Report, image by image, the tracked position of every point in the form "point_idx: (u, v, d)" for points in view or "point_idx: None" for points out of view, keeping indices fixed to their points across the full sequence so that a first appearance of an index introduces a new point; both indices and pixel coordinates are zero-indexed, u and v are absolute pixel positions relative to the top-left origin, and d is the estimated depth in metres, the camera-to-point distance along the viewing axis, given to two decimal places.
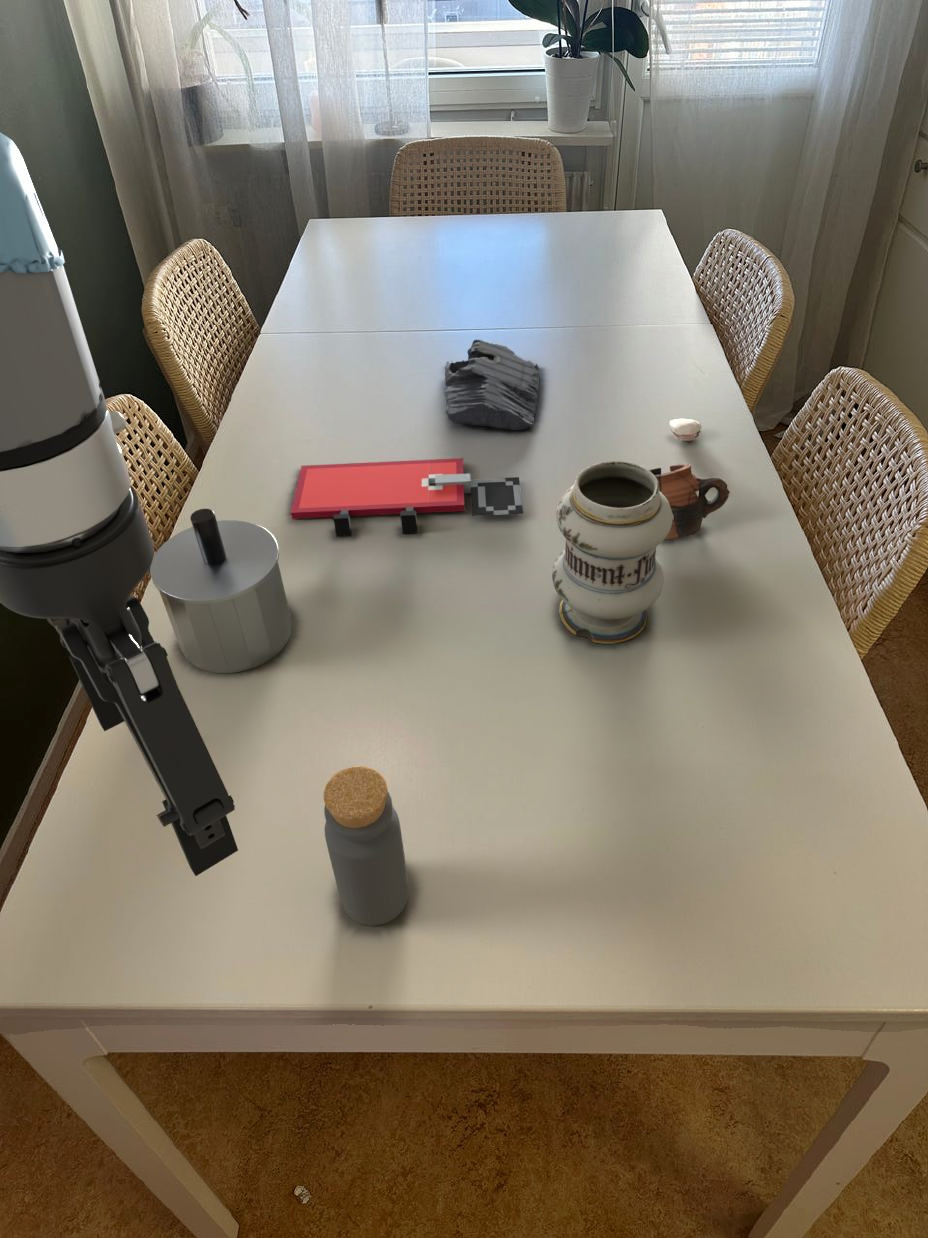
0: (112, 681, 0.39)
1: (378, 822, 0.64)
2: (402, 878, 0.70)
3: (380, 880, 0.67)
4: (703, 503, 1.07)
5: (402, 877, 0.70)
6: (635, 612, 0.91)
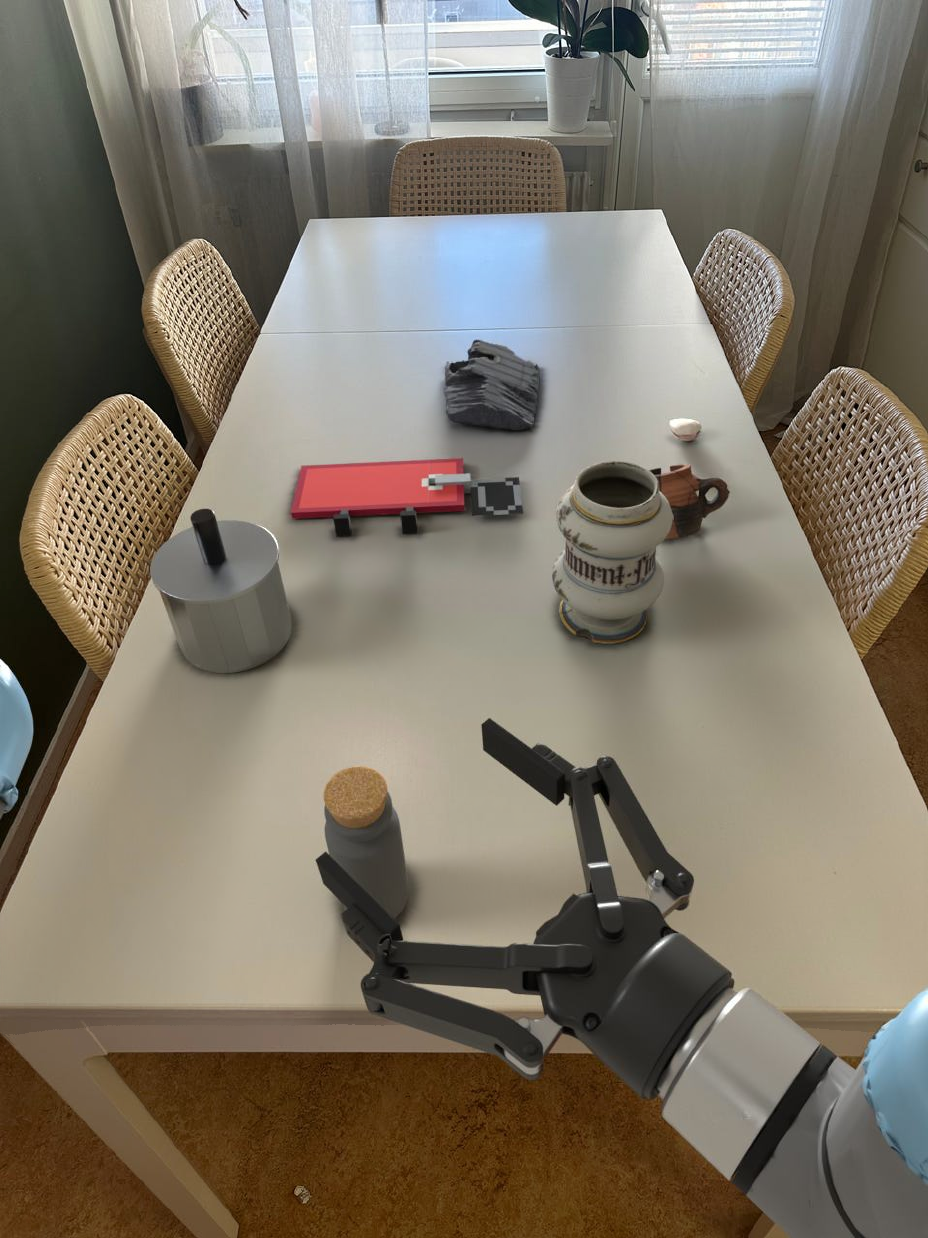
0: (526, 1050, 0.42)
1: (378, 822, 0.64)
2: (402, 878, 0.70)
3: (380, 880, 0.67)
4: (703, 503, 1.07)
5: (402, 877, 0.70)
6: (635, 612, 0.91)
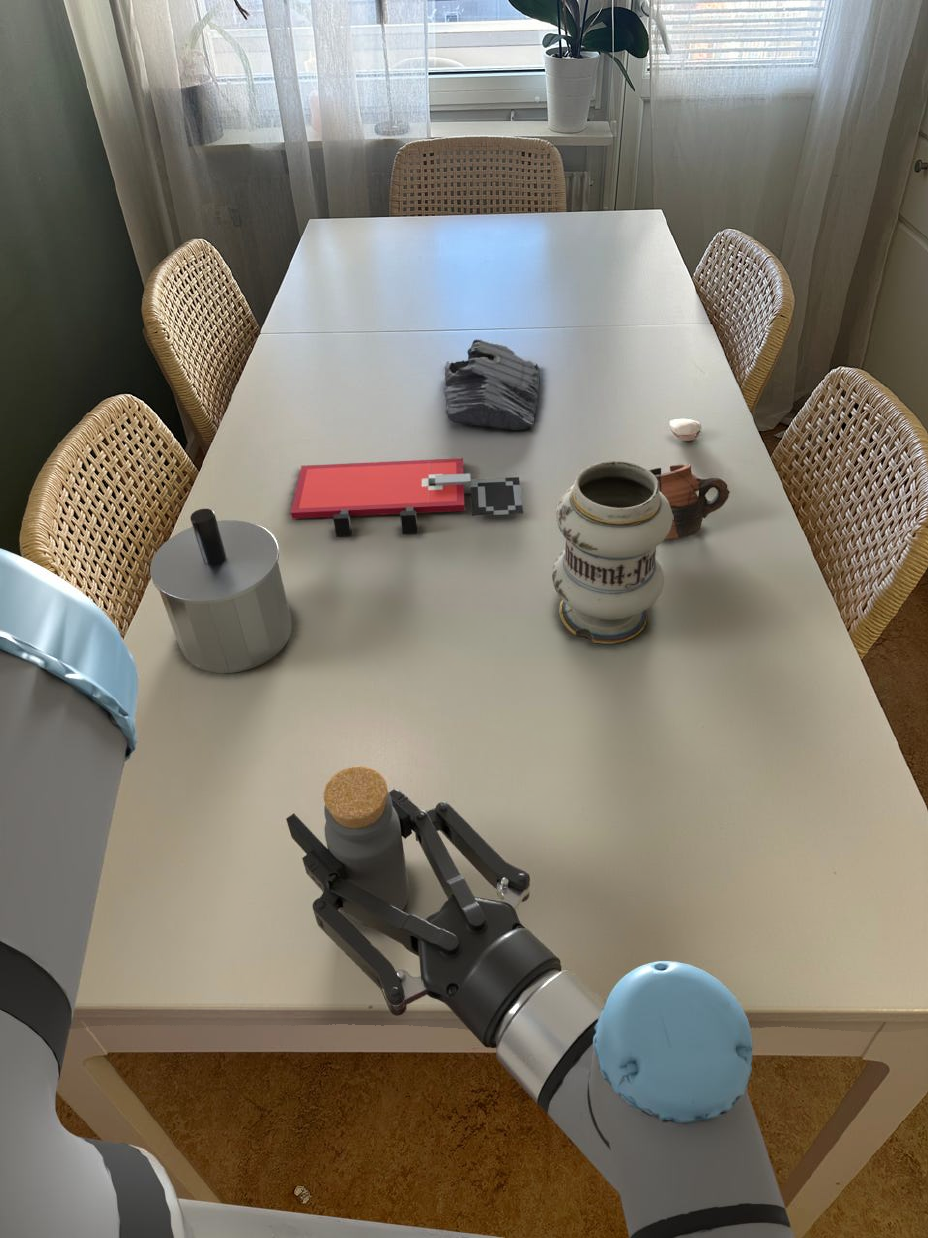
0: (391, 991, 0.58)
1: (378, 822, 0.64)
2: (402, 878, 0.70)
3: (380, 880, 0.67)
4: (703, 503, 1.07)
5: (402, 877, 0.70)
6: (635, 612, 0.91)
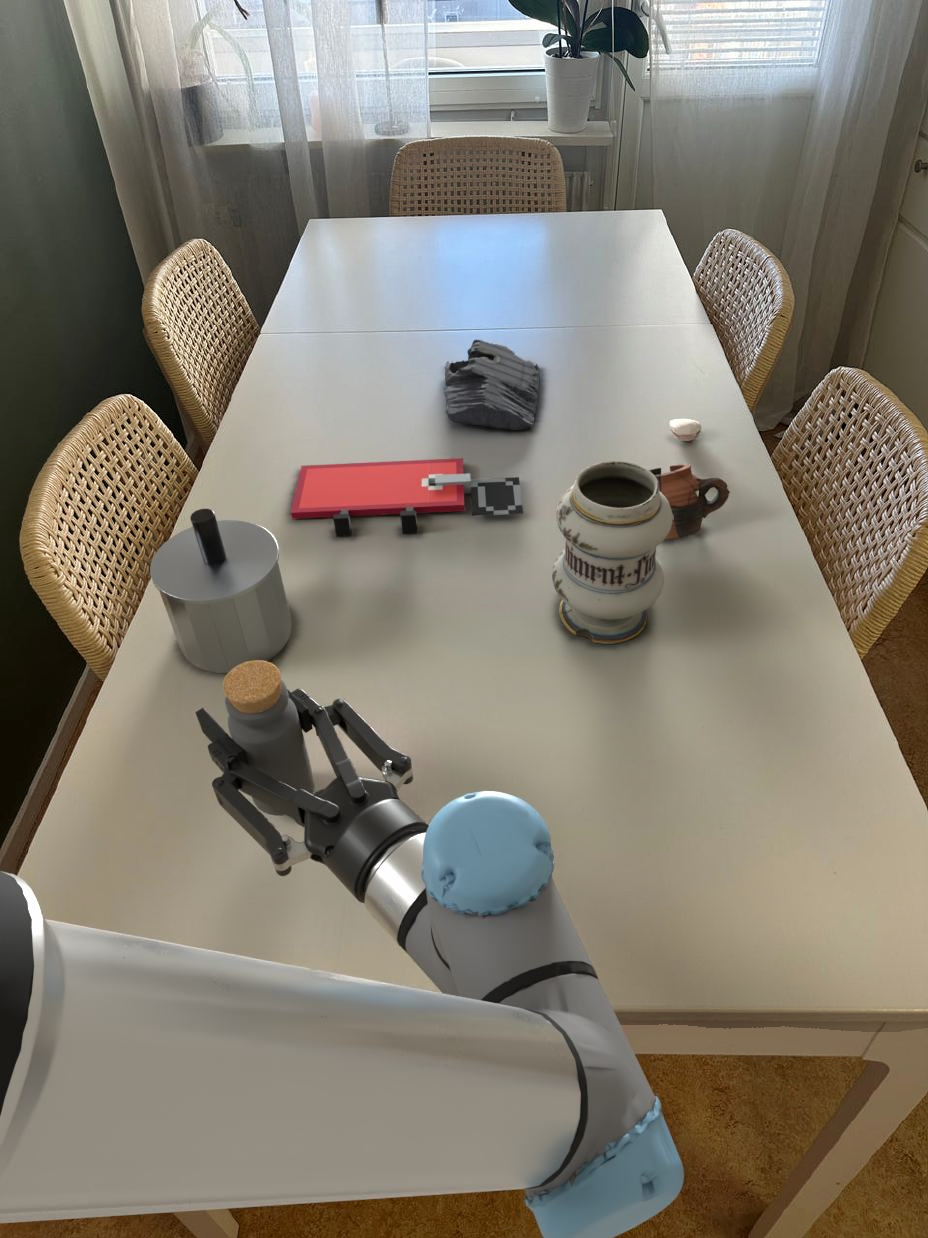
0: (275, 851, 0.65)
1: (272, 708, 0.70)
2: (303, 769, 0.77)
3: (279, 767, 0.74)
4: (703, 503, 1.07)
5: (303, 768, 0.76)
6: (635, 612, 0.91)
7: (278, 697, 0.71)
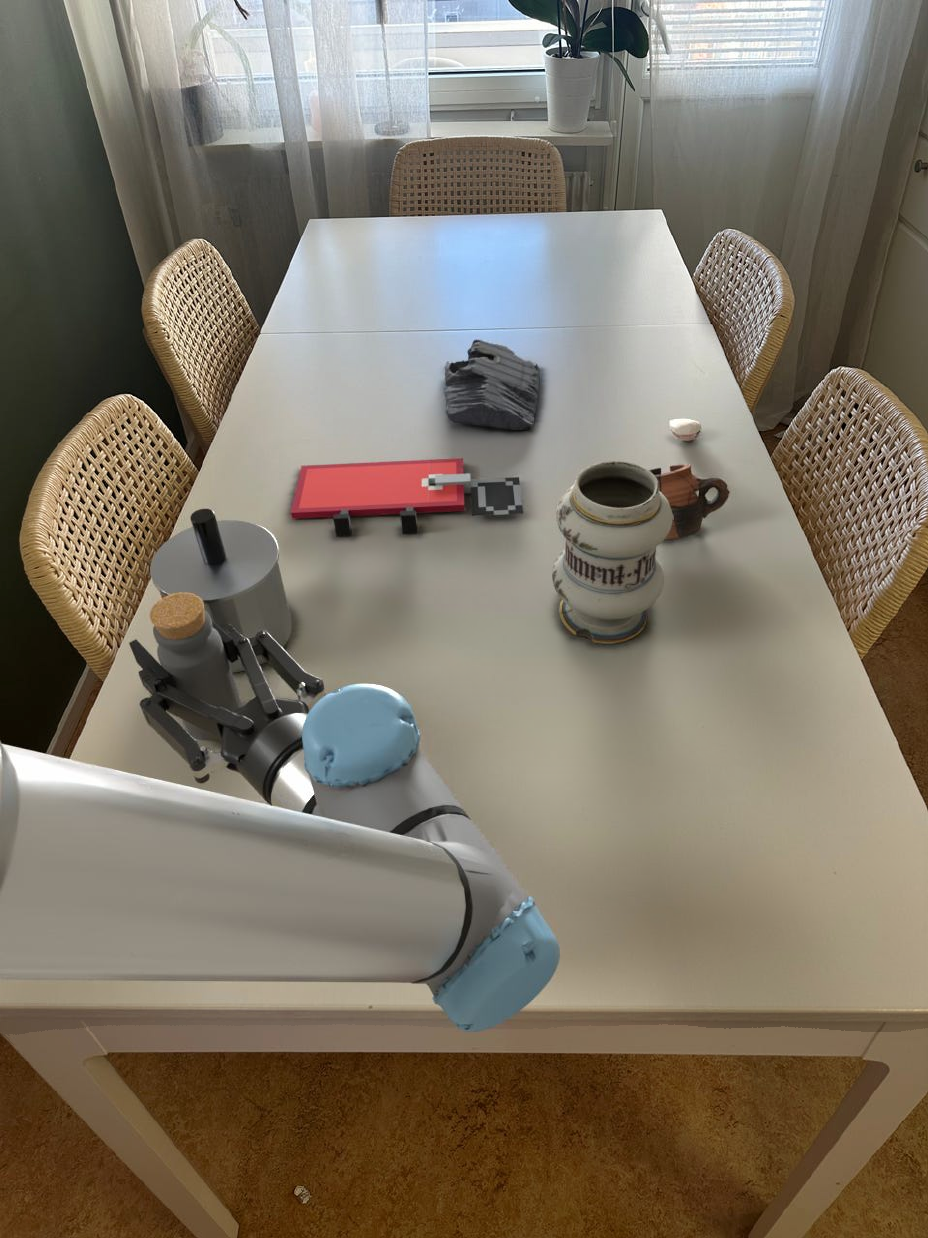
0: (192, 759, 0.71)
1: (195, 635, 0.77)
2: (230, 697, 0.83)
3: (205, 692, 0.80)
4: (703, 503, 1.07)
5: (230, 696, 0.83)
6: (635, 612, 0.91)
7: (201, 625, 0.77)
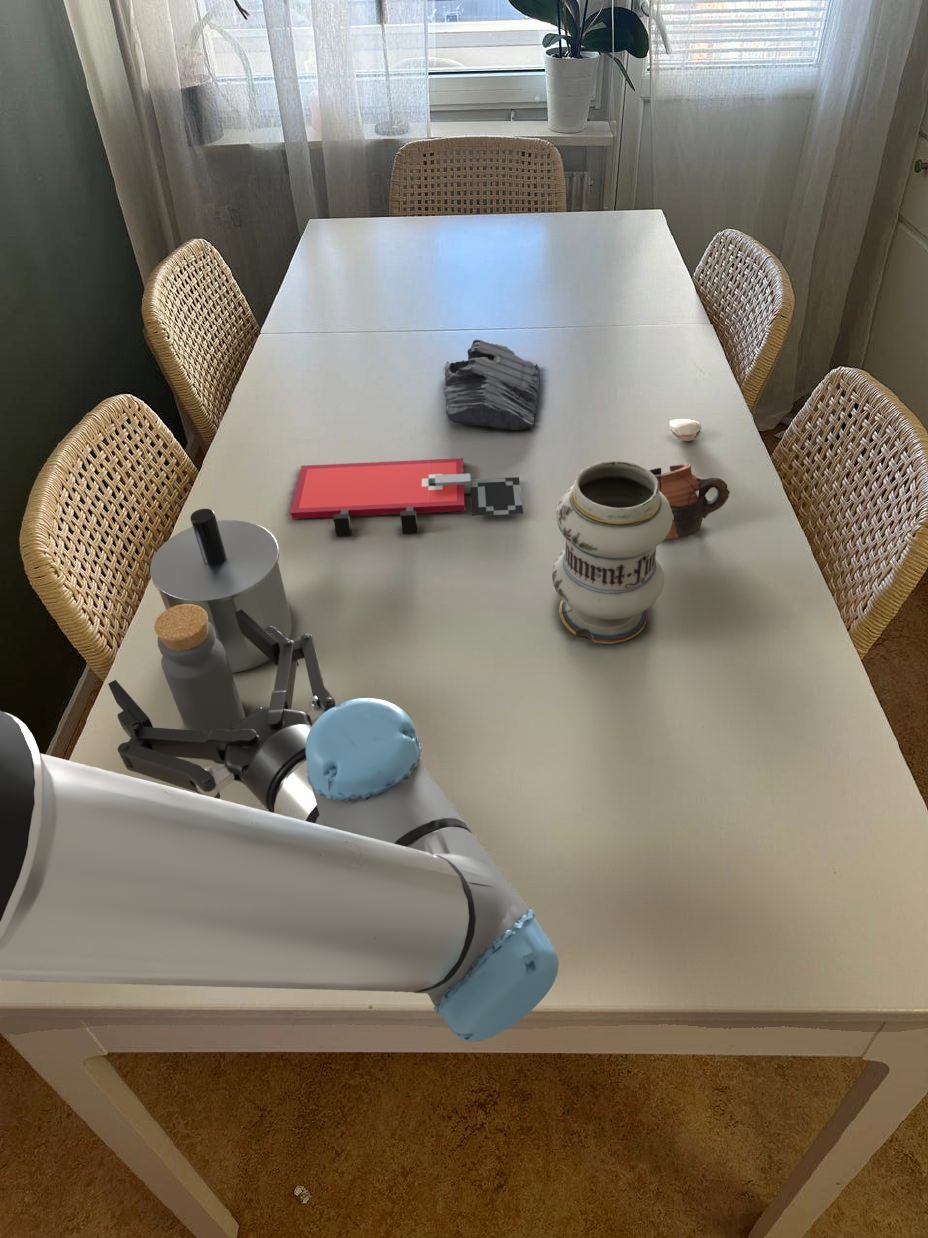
0: (203, 780, 0.71)
1: (199, 646, 0.78)
2: (233, 706, 0.84)
3: (209, 702, 0.81)
4: (703, 503, 1.07)
5: (233, 705, 0.84)
6: (635, 612, 0.91)
7: (205, 636, 0.78)
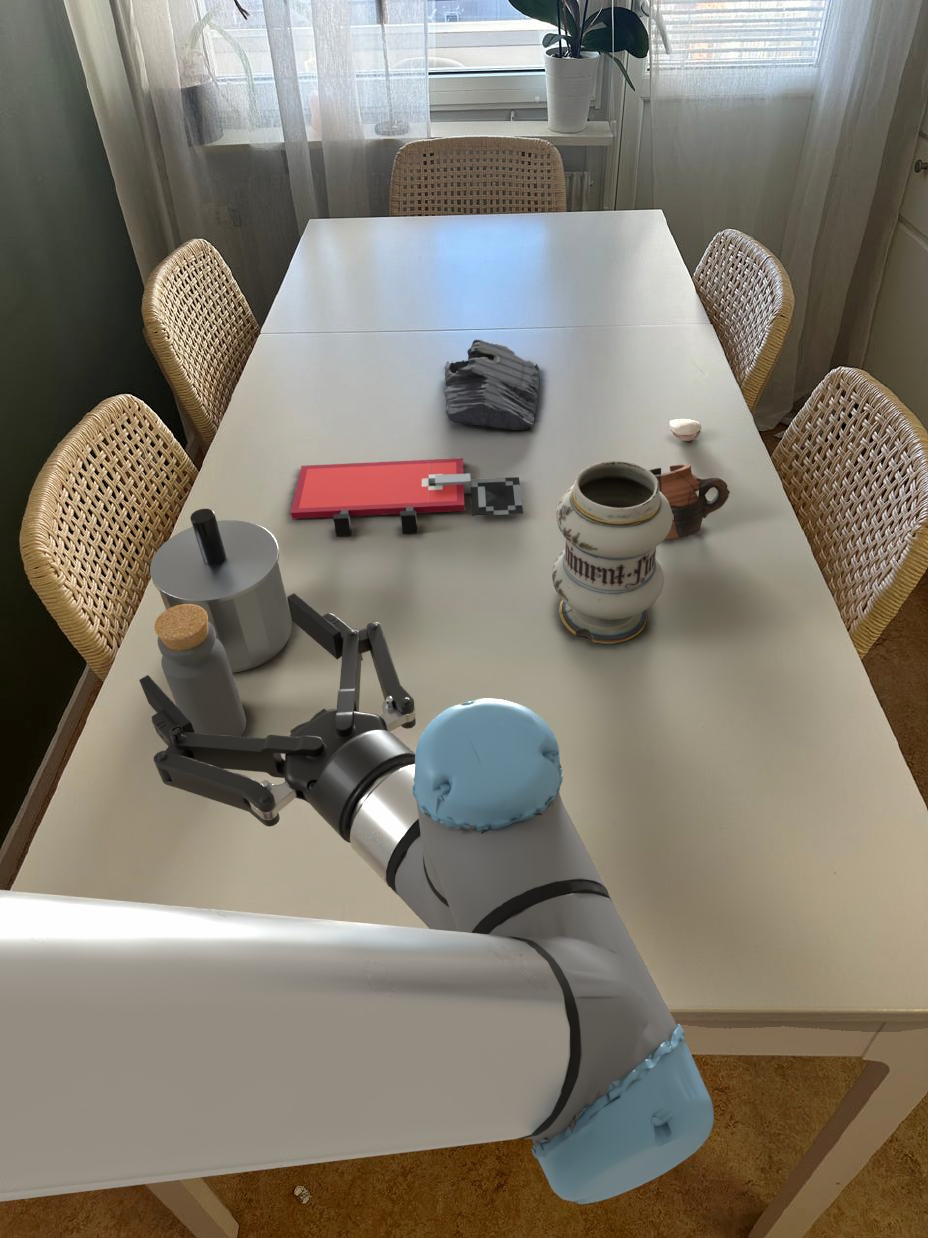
0: (261, 798, 0.58)
1: (200, 646, 0.78)
2: (233, 706, 0.84)
3: (209, 702, 0.81)
4: (703, 503, 1.07)
5: (233, 705, 0.84)
6: (635, 612, 0.91)
7: (205, 636, 0.78)
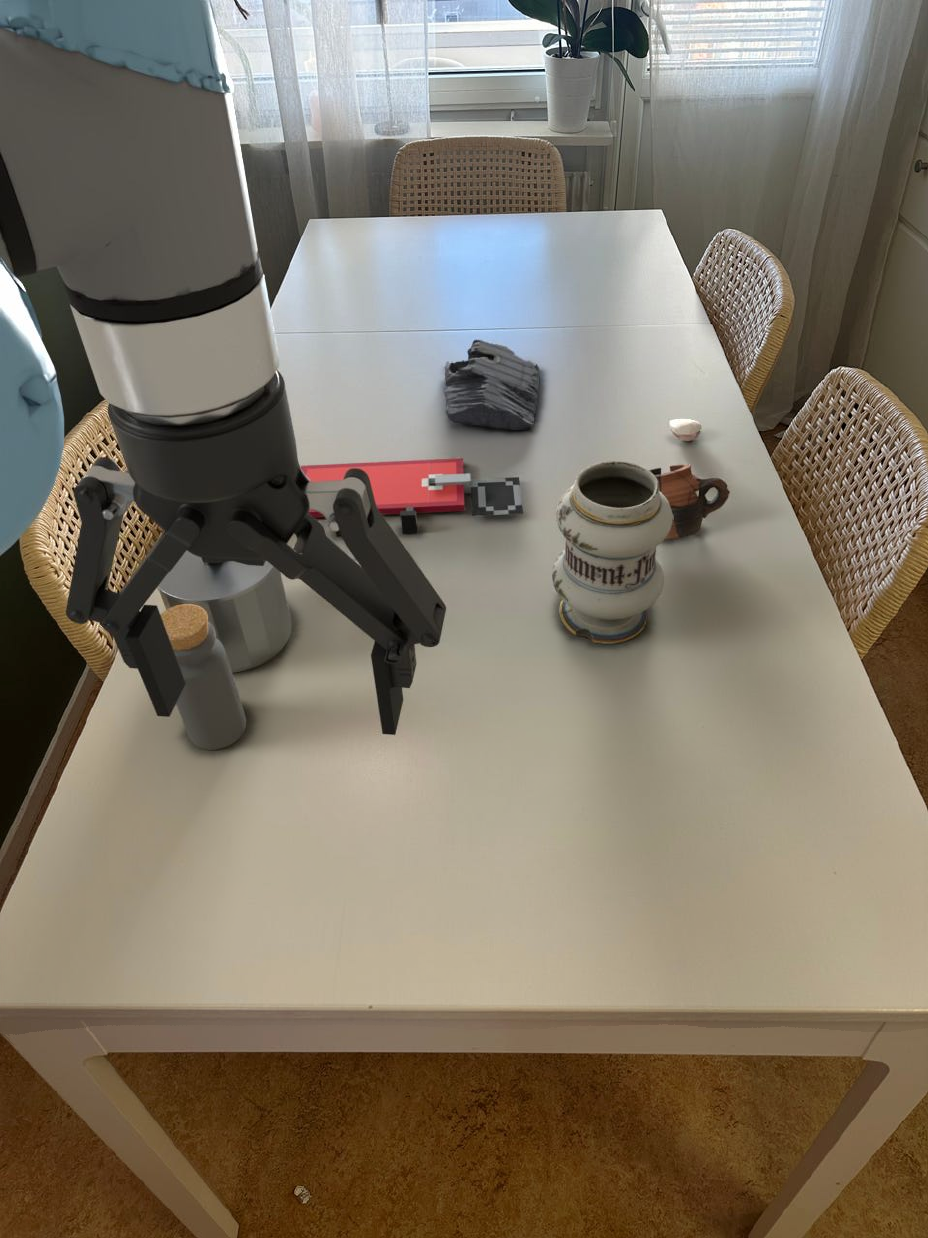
0: (349, 511, 0.39)
1: (199, 646, 0.78)
2: (233, 706, 0.84)
3: (209, 702, 0.81)
4: (703, 503, 1.07)
5: (233, 705, 0.84)
6: (635, 612, 0.91)
7: (205, 636, 0.78)
